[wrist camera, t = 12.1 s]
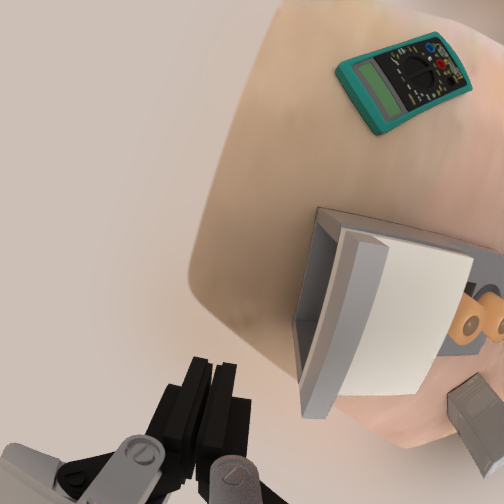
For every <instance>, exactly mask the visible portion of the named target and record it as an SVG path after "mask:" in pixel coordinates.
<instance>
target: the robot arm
mask: <svg viewBox="0 0 504 504" xmlns="http://www.w3.org/2000/svg"><path fill="white" fill-rule="evenodd" d="M212 367H213V364H210V363H208V359H204V358H199V357H193V359H192V362H191V364H190V367H189V369H188V372H187V374H186V377H185V379H184V382H183V384H182V387H181V386H177V385H173V384H168V386H167V387H166V389H165V391H164V394H163V396H162V398H161V400H160V402H159V404H158V407H157V409H156V411H155V413H154V415H153V418H152V420H151V422H150V424H149V427H148V429H147V431H146V433H145V435H133V436H130V437H128V438H127V439H126V440H124V441H123V442H122V444H121V445H120V446H119V448H118V449H117V450H116V451H115V452H112V453H107V454H103V455H100V456H95V457H91V458H86V459H82V460H77V461H72V462H68V463H65V462H62V461H61V460H60V459H58V458H55V457H52V456H49V455H47V454H44V453H41V452H39V451H36V450H33V449H31V448H28V447H26V446H24V445H21V444H18V443H10V444H9V445H7V446H6V447H5V449H4V451H3V453H2V456H1V457H0V504H166V503H167V501H168V499H169V497H170V496H171V492H173V491H176V490H178V489H180V487H181V484H185V481H186V479H192V475H193V471H194V467H195V463H196V481H198V493H199V494H200V495H201V497H202V498H204V500H205V501H206V502H207V504H288V503H287V502H286V501H284V500H283V499H282V498H280V497H279V496H278V495H277V494H276V493H274V492H273V491H272V490H271V489H270V488H268V487H267V486H266V485H265V484H264V483H262V482H261V481H260V480H259V473H258V470H257V467H256V466H255V465H254V464H253V462H251V461H250V460H248V459H247V458H246V455H247V444H248V434H249V424H250V413H251V399H245V398H238V397H232V392H233V386H234V380H235V374H236V368H237V364H231V363H225V362H223V364H222V365H217V366H216V370H215V373H214V377H213V381H212V384H211V379H212Z"/></svg>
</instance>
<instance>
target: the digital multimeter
mask: <svg viewBox="0 0 504 504" xmlns="http://www.w3.org/2000/svg"><path fill="white" fill-rule="evenodd" d="M335 73H336V75H337V77H338V79H339V80H340V82H341V84H342V86H343V87H344V89H345V91H346V92H347V94H348V96H349V97H350V99H351V100H352V102H353V103H354V105H355V107H356V108H357V110H358V111H359V113H360V114H361V116H362V117H363V118H364V120H365V121H366V123H367V124H368V126H369V127H370V128H371V130H372V131H373V133H374V134H376V135H380V134H383V133H386V132H388V131H390V130H392V129H393V128H395V127H397V126H398V125H400V124H402V123H403V122H405V121H407V120H409V119H410V118H412V117H414V116H416V115H417V114H419V113H421V112H423V111H425V110H427V109H429V108H431V107H433V106H435V105H437V104H439V103H441V102H444V101H446V100H448V99H451V98H453V97H456V96H458V95H461V94H464V93H466V92H469V91H472V85H471V82H470V80H469V77H468V75H467V73H466V70H465V68H464V66H463V64H462V62H461V61H460V59H459V58H458V56H457V54H456V53H455V52H454V50H453V49H452V48H451V47H450V45H449V44H448V43H447V42H446V41H445V39H444V38H443V37H442V36H441V35H440V34H439V33H438V32H432V33H429V34H426V35H423V36H420V37H417V38H414V39H411V40H408V41H405V42H402V43H399V44H396V45H393V46H389V47H386V48H383V49H380V50H377V51H374V52H370V53H367V54H364V55H361V56H358V57H355V58H352V59H349V60H346V61H343V62H341V63H340V64H339V65H338V67H337V69H336V71H335ZM457 89H458V90H457ZM448 93H449V94H448Z"/></svg>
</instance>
